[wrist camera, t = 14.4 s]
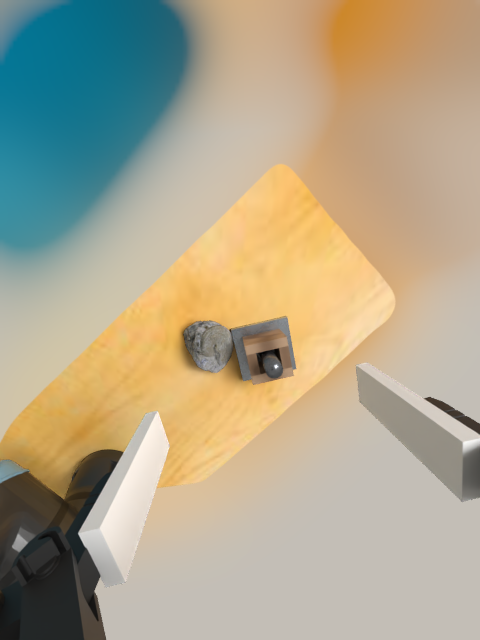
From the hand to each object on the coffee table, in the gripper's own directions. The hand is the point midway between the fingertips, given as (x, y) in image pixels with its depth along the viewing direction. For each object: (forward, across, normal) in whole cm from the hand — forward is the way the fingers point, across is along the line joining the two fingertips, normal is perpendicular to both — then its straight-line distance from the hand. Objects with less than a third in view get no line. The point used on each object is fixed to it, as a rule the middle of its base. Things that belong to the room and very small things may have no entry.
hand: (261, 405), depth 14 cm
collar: (+32, +4, -9) cm, 33 cm away
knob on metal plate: (+33, +4, -9) cm, 34 cm away
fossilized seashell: (+33, -7, -5) cm, 34 cm away
